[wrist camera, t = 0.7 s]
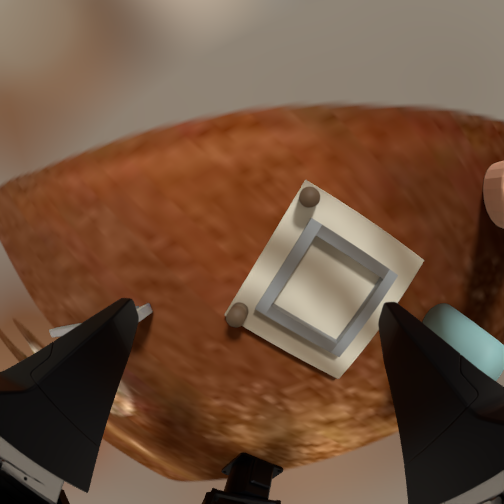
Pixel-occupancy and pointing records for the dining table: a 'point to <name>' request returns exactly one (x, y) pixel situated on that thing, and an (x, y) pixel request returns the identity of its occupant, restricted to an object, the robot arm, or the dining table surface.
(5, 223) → the dining table surface
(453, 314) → the pin
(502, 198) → the salt shaker
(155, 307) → the dining table surface
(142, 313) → the caliper
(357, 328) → the board
